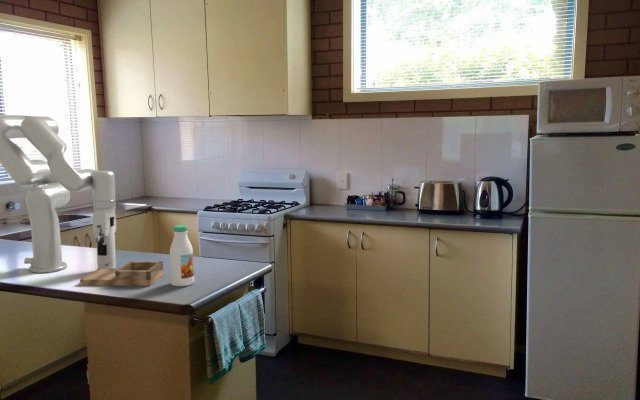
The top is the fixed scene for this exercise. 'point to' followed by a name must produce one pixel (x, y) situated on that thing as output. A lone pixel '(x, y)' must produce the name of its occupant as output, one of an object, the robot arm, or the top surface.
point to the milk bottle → (181, 258)
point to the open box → (126, 275)
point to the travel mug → (108, 250)
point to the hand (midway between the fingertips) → (106, 252)
